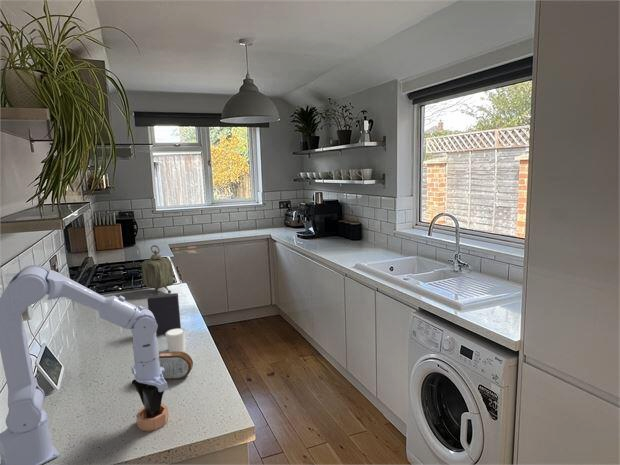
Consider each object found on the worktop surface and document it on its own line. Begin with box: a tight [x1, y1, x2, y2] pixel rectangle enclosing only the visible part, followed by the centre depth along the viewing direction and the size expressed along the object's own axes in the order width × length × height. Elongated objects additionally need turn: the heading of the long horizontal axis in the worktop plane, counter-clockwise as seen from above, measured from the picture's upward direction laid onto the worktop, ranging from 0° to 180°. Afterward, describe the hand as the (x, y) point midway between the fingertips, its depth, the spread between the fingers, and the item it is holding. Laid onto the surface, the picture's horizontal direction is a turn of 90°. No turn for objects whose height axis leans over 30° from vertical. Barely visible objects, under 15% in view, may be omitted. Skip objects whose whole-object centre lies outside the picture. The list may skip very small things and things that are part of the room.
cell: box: [143, 385, 160, 418], centre depth 104 cm, size 4×4×8 cm
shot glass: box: [164, 327, 187, 352], centre depth 144 cm, size 7×7×7 cm
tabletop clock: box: [140, 244, 174, 295], centre depth 207 cm, size 14×9×25 cm, turn 53°
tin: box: [158, 351, 194, 381], centre depth 126 cm, size 15×3×8 cm, turn 92°
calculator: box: [147, 292, 182, 335], centre depth 160 cm, size 11×4×15 cm, turn 104°
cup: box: [135, 402, 170, 432], centre depth 105 cm, size 7×7×3 cm
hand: (151, 406), depth 104 cm, fingers closed on cell, 3 cm apart
